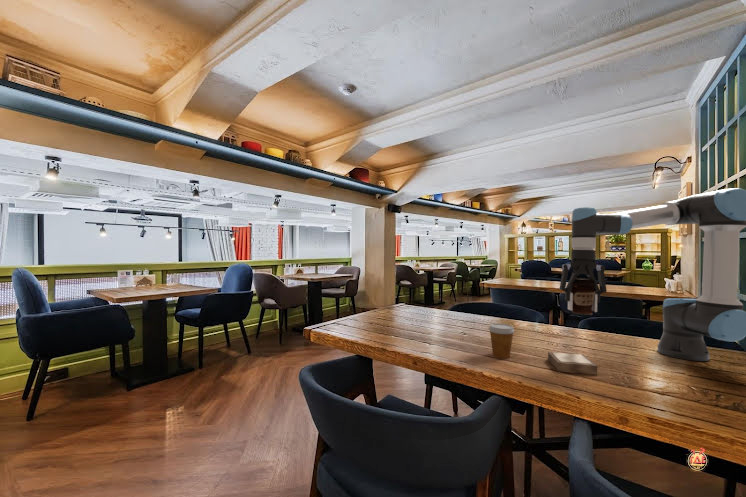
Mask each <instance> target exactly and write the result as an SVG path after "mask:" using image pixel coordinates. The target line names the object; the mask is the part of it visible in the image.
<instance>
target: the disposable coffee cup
mask: <svg viewBox="0 0 746 497" xmlns="http://www.w3.org/2000/svg"><path fill="white" fill-rule="evenodd" d="M488 330H489V334H490V341H491V342H490V343H491V349H492V350H491V351H492V356H494V358H496V359H497V358H498V359H504V360H505V359H509V358H510V357H511V351H512V343H513V336H514V334H515V329H514V326H512V325H510V324H505V323H491V324H489V327H488Z"/></svg>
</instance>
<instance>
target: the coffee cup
mask: <svg viewBox="0 0 746 497" xmlns="http://www.w3.org/2000/svg"><path fill="white" fill-rule="evenodd" d="M575 280H576V281H574V282H573V283H572V285H573V287H572V289H571V293H573V306H572V311H571V312H572V313H573V314H578V315H593V311H592V305H593V301H594V293H595V292H594V288H595V286H596V284H595V281H594V280H589V278H577V279H575Z"/></svg>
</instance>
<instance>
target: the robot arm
mask: <svg viewBox="0 0 746 497" xmlns="http://www.w3.org/2000/svg"><path fill="white" fill-rule="evenodd" d="M597 211H598V210H597V209H596V207H591V206H590V207H589V206H587V207H577V208H574V209H573V210H572V214H571V215H572V216H571V249H572V250H571V251H570V252H571V256H570V259H571V260H570V262H569V263H565V264H561V269H562V272H561V279H560V284H559V290H560V291H563V292H564V300H565V301H566V302H567V310H568V311H571V312H572V306H573V293H571V289H572V287H573V285H572V283H573V282H574V281H576V280H575V279H578V277H579V276H580V275H586V277H587V279H589V280H594V281H595V284H596V286H595V288H594V301H593V305H592V312H594V313H597V312H598V304H600V302H601V295H602V294H604V293H607V291H608V290H607V283H606V278H605V277H606V276H605V271H606V266H605V265H601V264H597V263H596V250H595V249H596V248H597V245H596V244H597V242H596V241H597V240H596V239H597V236H601V235H602V236H603V235H604V236H605V235H626V234H629V232H631V230H634V229H639V228H646V227H652V226H659V225H666V226H674V225H698V228H699V229H700V230H702V231H703V232H704V234H703V260H702V282H701V283H702V284H701V295H700V296H699V297H697V298H665V299H664V300H663V302H662V303H663V304H662V335H661V337H660V339H659V342H658V344H657V352H658V353H659V354H662V355H664V356H667V357H670V358H676V359H679V360H680V359H681V360H687V361H693V362H694V361H695V362H708V361H710V359H711V358H710V352H709V349H708V347H707V345H706V343H705V340H704V336H705V337H709V338H712V339H715V340H718V341H724V342H738V341H742V340H743V339H745V337H746V311H744V304H743V302H741V301H740V300H739V299H738V279H739V278H738V277H739V276H738V275H739V274H738V272H739V250H740V232H741V231H742V230H744V229H745V228H746V189H743V188H739V187H738V188H737V187H735V188H724V189H723V188H722V189H719V190H714V191H713V190H712V191H709V192H704V193H698V194H693V195H689V196H685V197H683V198H679V199H676V200H669V201H665V202H662V203H661V204H660V205H656V206H650V207H644V208H638V209H632V210H625V211H620V212H614V213H598V212H597ZM570 268H571V269H572V270H573V271H572V272H571V276H570V278H569V280H568V274H569V270H570ZM595 269H596V271H597V279H598V282H597V280H596V277H595V273H594V270H595ZM567 280H568V282H567Z"/></svg>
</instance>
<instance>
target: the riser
mask: <svg viewBox="0 0 746 497" xmlns="http://www.w3.org/2000/svg"><path fill="white" fill-rule="evenodd" d="M547 360H548V362H549V363H551V365H552V366H553V367H554V368H555V370H556V371H557V372H563V373H573V374H575V373H576V374H586V375H595V376H596V375H598V365H597V364H596V363H594V362H593V361H592V360H591V359H590V358H588V357H587V356H586V355H584V354H582V353H581V354H580V353H568V352H551V351H547Z"/></svg>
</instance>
